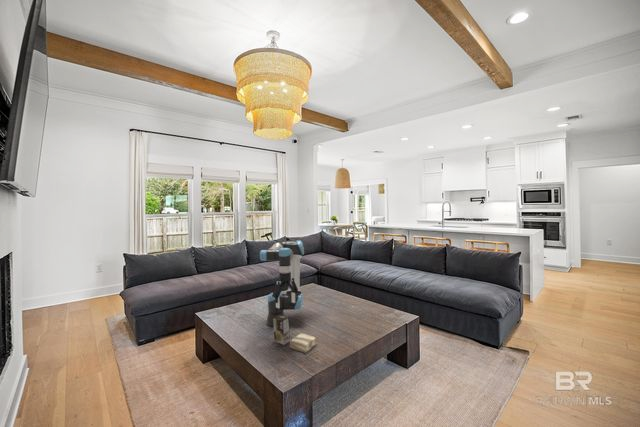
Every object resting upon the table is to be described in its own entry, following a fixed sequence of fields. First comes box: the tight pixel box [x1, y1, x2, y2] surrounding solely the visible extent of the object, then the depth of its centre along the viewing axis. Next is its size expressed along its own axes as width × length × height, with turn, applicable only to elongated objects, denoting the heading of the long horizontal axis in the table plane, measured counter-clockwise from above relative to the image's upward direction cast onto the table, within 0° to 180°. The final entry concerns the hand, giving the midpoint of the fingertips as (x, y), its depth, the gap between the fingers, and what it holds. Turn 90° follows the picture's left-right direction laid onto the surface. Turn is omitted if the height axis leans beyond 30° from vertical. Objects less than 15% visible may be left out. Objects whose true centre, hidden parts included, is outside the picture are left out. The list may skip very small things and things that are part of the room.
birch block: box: [289, 332, 317, 354], centre depth 182 cm, size 12×12×5 cm
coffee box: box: [273, 315, 291, 346], centre depth 188 cm, size 9×6×16 cm
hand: (285, 305), depth 183 cm, fingers open, 13 cm apart
